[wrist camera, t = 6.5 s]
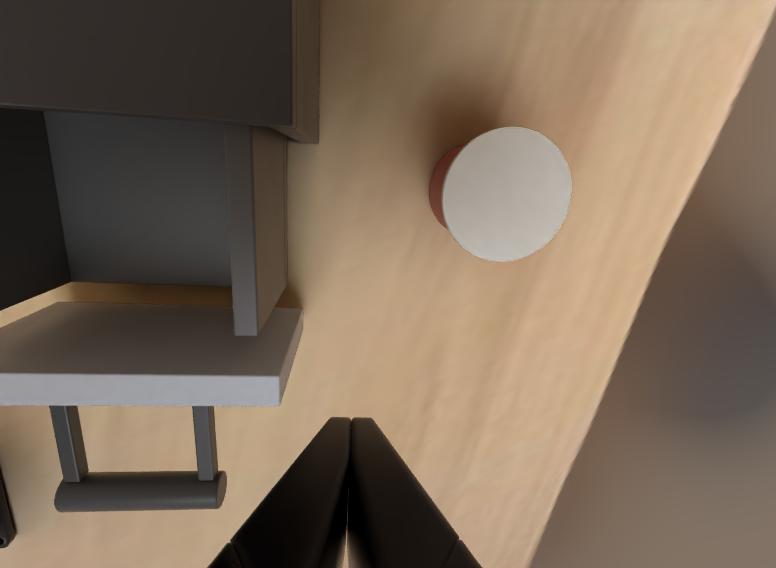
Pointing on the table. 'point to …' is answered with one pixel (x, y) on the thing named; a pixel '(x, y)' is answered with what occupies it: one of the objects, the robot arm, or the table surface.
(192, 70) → the dark brown storage box
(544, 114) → the table surface
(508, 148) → the coffee pod
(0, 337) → the pod drawer
